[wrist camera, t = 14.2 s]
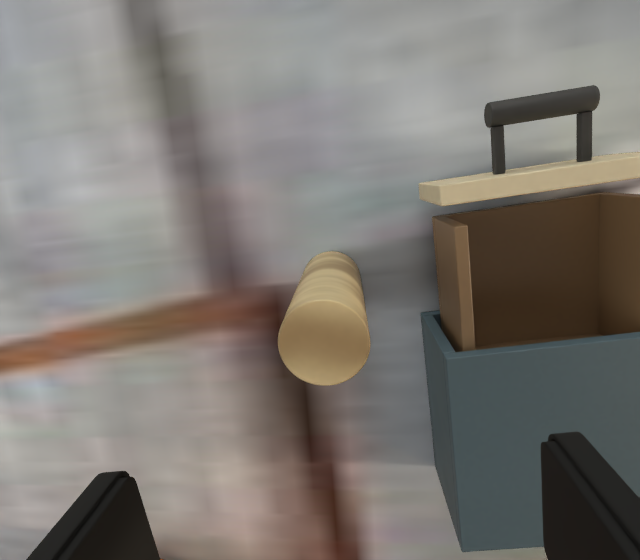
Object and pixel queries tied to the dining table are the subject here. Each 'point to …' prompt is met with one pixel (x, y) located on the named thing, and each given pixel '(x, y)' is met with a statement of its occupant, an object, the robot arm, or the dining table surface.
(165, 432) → the dining table surface
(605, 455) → the cabinet
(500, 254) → the drawer
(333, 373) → the cylinder
